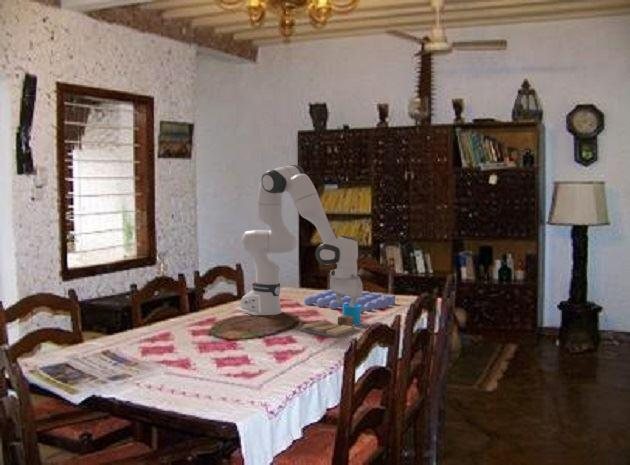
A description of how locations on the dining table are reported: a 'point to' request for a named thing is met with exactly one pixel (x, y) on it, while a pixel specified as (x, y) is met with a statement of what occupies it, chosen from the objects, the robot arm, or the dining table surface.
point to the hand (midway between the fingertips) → (345, 305)
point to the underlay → (331, 331)
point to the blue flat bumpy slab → (366, 301)
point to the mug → (353, 312)
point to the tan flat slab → (320, 326)
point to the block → (345, 320)
